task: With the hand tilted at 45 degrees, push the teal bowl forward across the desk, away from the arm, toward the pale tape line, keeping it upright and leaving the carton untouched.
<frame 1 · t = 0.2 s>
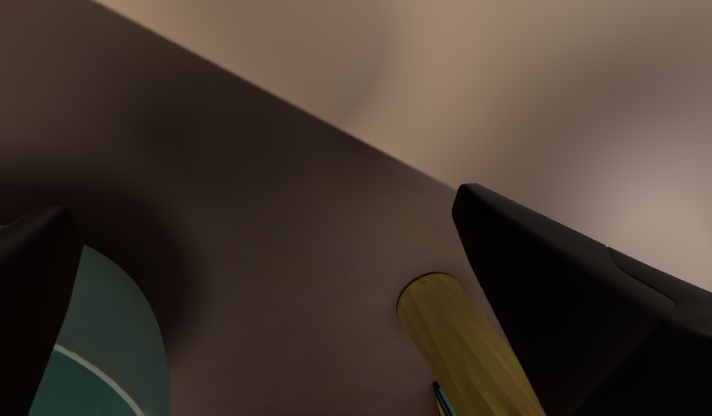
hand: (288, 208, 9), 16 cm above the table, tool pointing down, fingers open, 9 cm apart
carton: (467, 393, 38), on the table
teal bowl: (54, 293, 24), on the table
vase: (428, 300, 32), on the table
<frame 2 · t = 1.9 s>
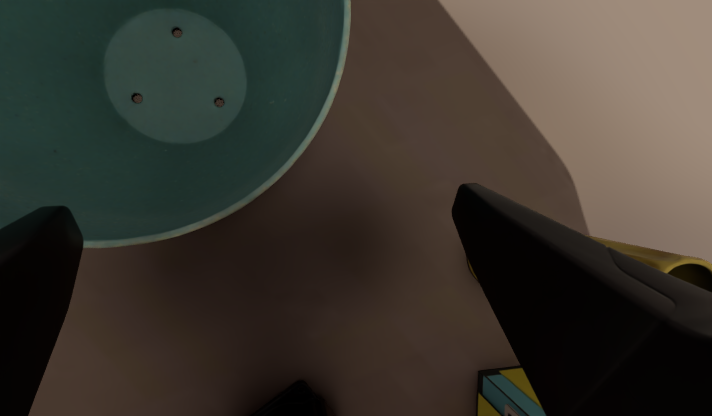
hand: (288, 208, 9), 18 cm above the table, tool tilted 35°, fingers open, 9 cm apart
carton: (510, 407, 32), on the table
teal bowl: (178, 79, 24), on the table
vase: (497, 251, 31), on the table
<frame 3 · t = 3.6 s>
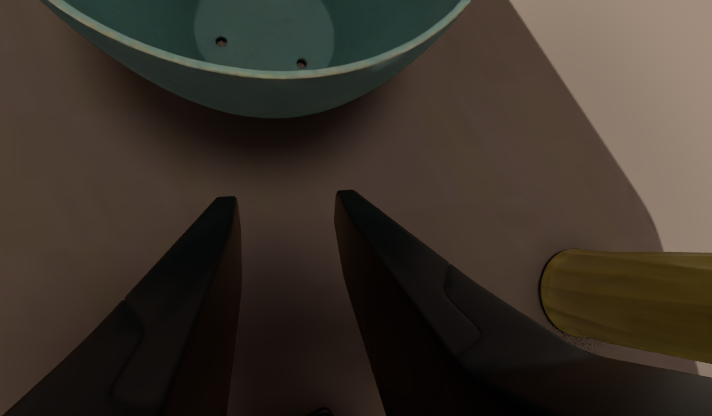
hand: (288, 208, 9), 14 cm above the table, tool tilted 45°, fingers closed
teal bowl: (265, 37, 23), on the table
vase: (573, 291, 26), on the table
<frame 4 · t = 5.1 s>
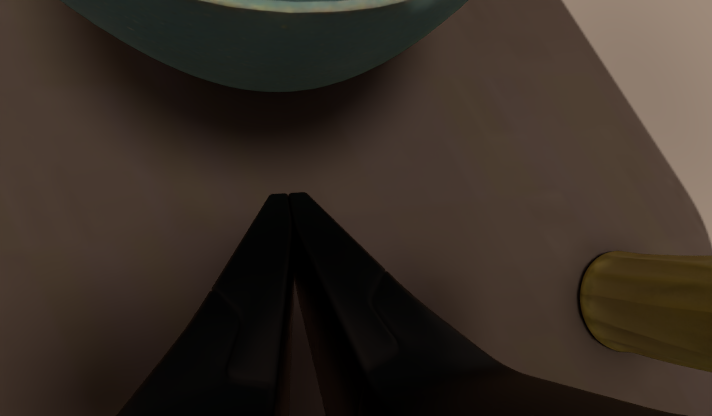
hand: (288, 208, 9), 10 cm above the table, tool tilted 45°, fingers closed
teal bowl: (264, 4, 20), on the table
vase: (615, 299, 23), on the table
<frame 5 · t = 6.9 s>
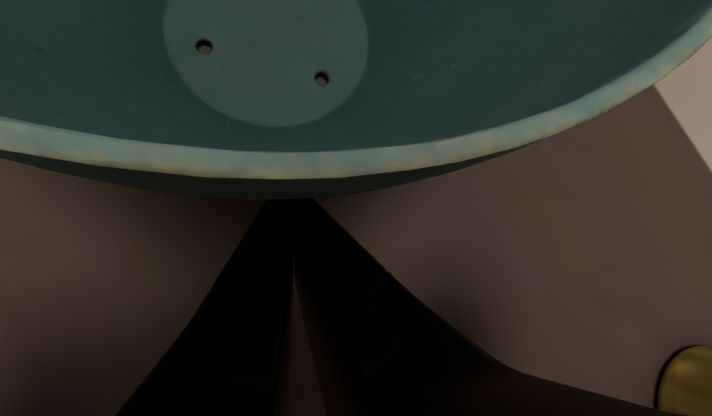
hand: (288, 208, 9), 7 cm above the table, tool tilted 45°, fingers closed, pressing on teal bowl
teal bowl: (269, 40, 16), on the table, touching gripper
vase: (697, 405, 19), on the table
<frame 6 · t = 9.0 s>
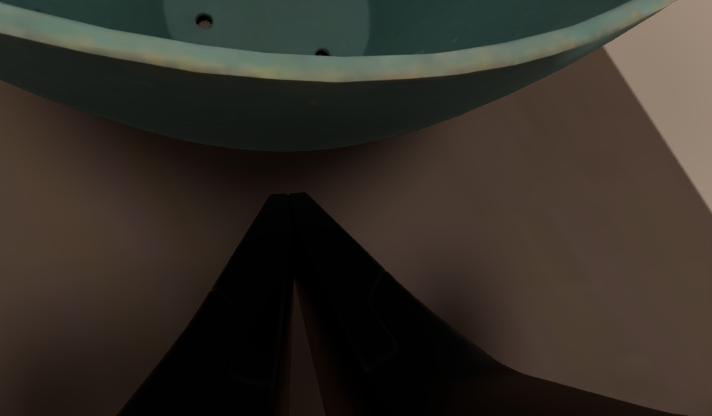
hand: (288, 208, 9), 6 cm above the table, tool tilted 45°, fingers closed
teal bowl: (270, 17, 16), on the table
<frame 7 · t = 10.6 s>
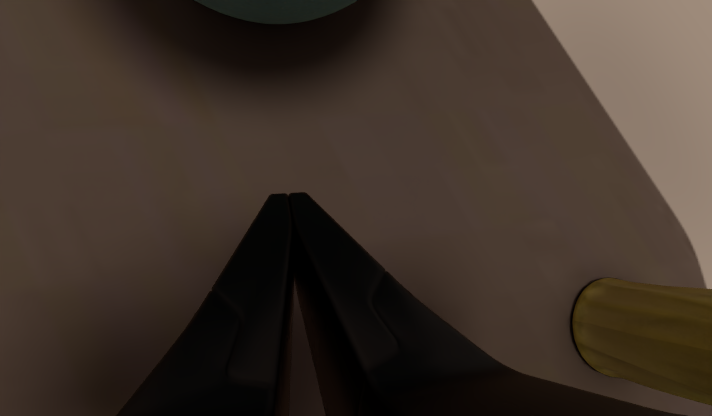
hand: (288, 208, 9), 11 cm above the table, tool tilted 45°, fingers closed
vase: (607, 324, 24), on the table
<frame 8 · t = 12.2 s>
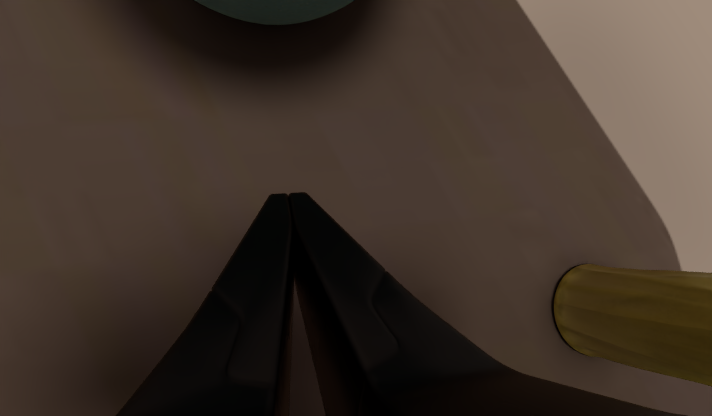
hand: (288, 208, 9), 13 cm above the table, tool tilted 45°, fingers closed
vase: (587, 308, 25), on the table
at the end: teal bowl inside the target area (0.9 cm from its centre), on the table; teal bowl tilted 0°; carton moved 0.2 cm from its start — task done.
